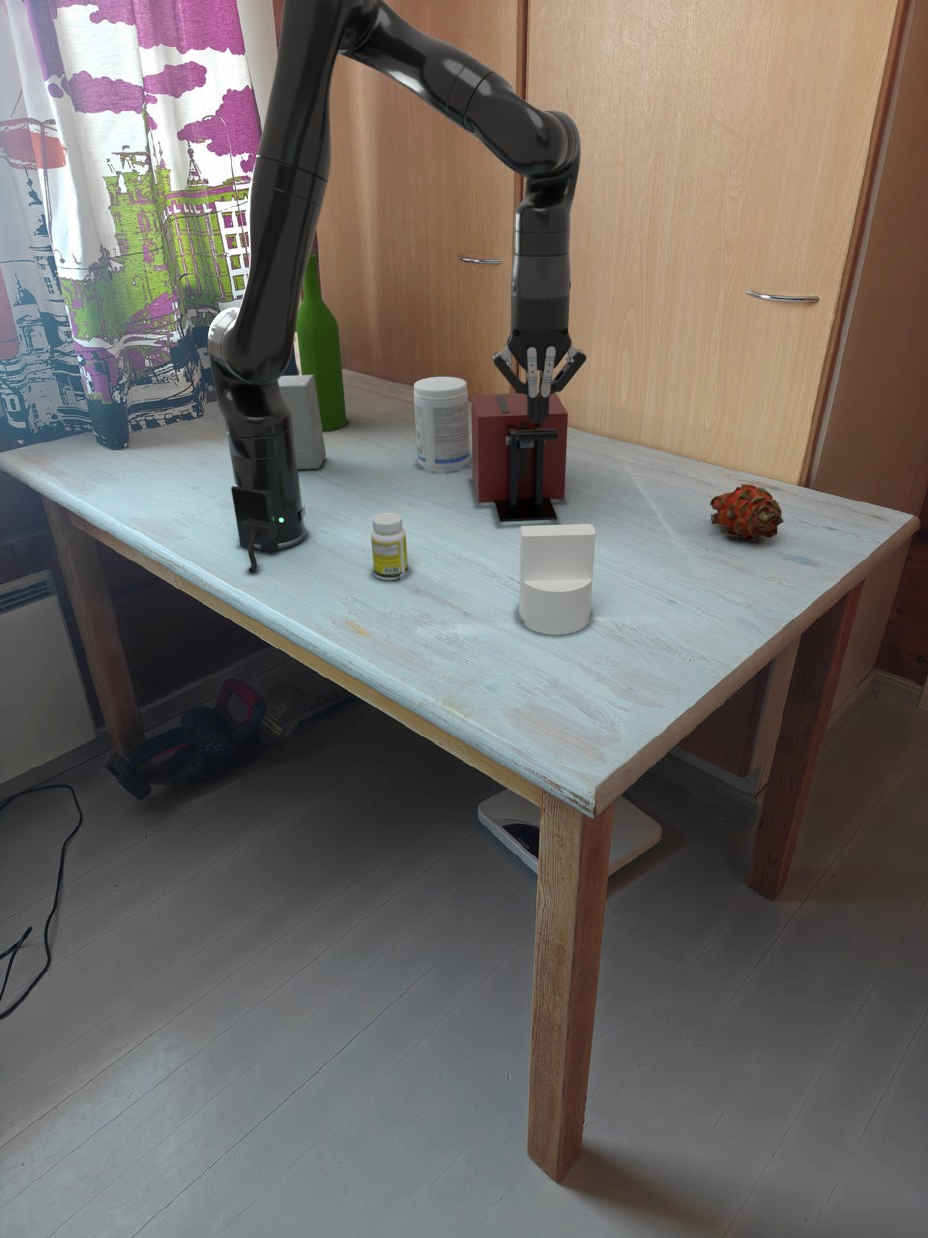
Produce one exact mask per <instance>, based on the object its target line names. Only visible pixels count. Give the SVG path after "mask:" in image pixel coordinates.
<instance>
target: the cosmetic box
mask: <svg viewBox="0 0 928 1238" xmlns="http://www.w3.org/2000/svg"><path fill="white" fill-rule="evenodd" d="M278 383H279V387H280V389H281V392H282V394H283V396H284V398H285V400H286V402H287V403H288V405H289V407H290V410H291V416H292V425H293V433H294V442H295V451H296V459H297V468H298V470H319V469H320V467H321V465H322V464H323V462H324V461H325V459H326V456H327V453H326V446H325V439H324V438H325V437H324V431H322V425H321V419H320V412H319V406H318V399H317V392H316V386H315V379H314V375H298V376H297V375H282V376H281V377H280V378H279V379H278Z"/></svg>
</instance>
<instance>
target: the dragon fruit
mask: <svg viewBox="0 0 928 1238" xmlns="http://www.w3.org/2000/svg"><path fill="white" fill-rule="evenodd" d="M708 504H710V505H709V506H711V509H712V510H714V511H717V512H715V513H711V514H710V521H711V524H712V525H718V526H725V527H727V531H726V534H727V537H728V538H730V539H737V538H739V537H740V536H742V538H743V540H745V541H749V542H758V540H759V539H760V538H761V537H764V538H768V539H771V538H773V537H775V536H777V535H778V527H779V525H781V524H782V523H785V521H784V519H783V517H782V508H781V506H780V504H779V503H778V501H777V500H776V499H774V498H773V495H772V494H771V493H770V492H769V491H768V490H767V489H766V488H765V487H761V486H760V487H757V486H755V485H753V484H748V483H747V484H746V483H742V484H740V486H736V488H735V489H734V491H732V492H725V493H722V494H719V495H715V496H714V497H713V498H712V499H711V500H710V501H709V503H707V505H708Z"/></svg>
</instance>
